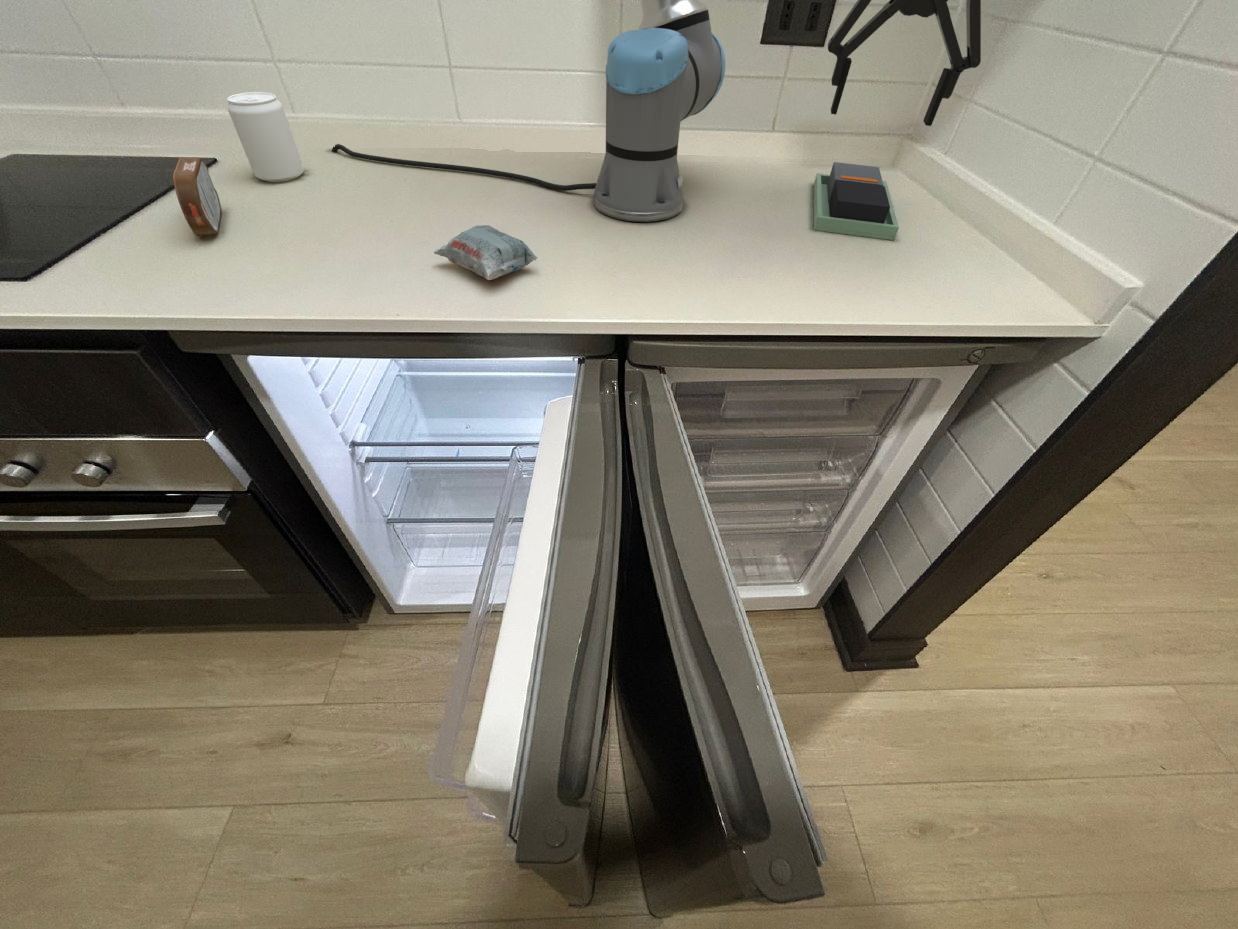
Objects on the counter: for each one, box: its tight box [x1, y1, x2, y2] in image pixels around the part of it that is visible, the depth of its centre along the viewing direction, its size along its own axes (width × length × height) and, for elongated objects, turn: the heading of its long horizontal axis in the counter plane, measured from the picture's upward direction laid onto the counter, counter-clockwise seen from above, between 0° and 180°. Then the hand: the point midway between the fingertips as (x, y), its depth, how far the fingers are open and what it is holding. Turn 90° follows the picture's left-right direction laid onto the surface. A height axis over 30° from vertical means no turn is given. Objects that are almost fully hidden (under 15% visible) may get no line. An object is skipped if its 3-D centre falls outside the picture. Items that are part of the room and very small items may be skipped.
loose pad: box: [829, 181, 890, 224], centre depth 91 cm, size 8×10×4 cm
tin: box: [172, 156, 222, 237], centre depth 81 cm, size 15×3×8 cm, turn 23°
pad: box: [827, 161, 884, 203], centre depth 98 cm, size 8×10×4 cm
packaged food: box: [433, 224, 538, 281], centre depth 75 cm, size 9×12×5 cm
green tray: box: [813, 172, 900, 241], centre depth 96 cm, size 22×13×2 cm, turn 166°
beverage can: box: [226, 91, 305, 183], centre depth 94 cm, size 8×8×12 cm
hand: (879, 117), depth 82 cm, fingers open, 13 cm apart
